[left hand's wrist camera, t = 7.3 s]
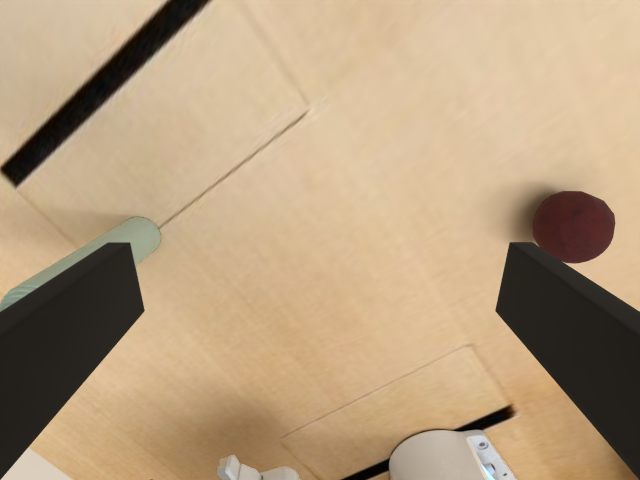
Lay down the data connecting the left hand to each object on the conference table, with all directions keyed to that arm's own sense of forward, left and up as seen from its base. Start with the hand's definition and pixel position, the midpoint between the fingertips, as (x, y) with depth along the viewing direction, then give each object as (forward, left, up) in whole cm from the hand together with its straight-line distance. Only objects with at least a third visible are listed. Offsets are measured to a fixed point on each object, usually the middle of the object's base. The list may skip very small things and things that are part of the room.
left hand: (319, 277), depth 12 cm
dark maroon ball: (+6, +27, -28) cm, 39 cm away
